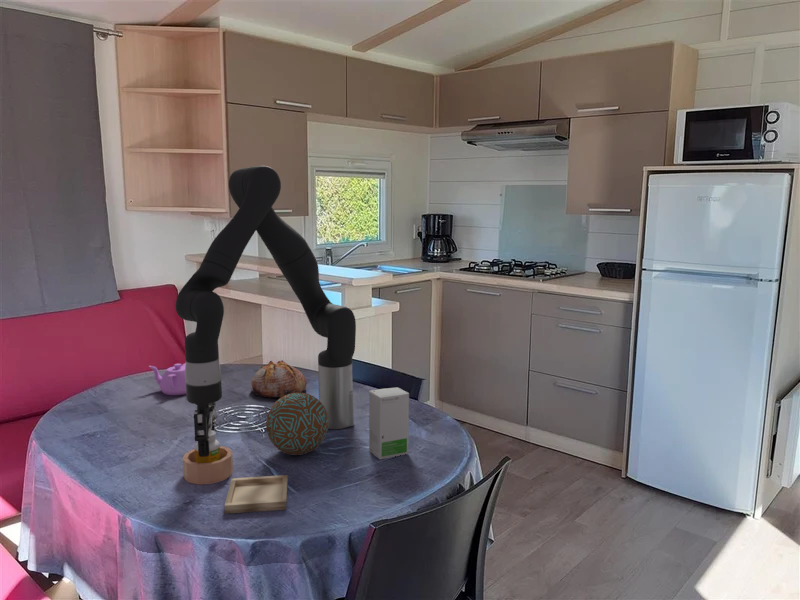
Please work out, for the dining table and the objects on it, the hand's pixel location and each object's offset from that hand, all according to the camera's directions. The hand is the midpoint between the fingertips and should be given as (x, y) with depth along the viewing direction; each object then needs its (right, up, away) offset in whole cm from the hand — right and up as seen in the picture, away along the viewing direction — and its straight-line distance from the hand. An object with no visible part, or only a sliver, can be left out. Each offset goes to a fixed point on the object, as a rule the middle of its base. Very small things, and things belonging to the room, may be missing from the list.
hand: (207, 448), depth 141 cm
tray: (+14, -8, -10) cm, 19 cm away
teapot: (-28, +4, +60) cm, 66 cm away
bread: (+5, +4, +60) cm, 60 cm away
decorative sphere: (+19, -4, +13) cm, 23 cm away
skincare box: (+41, -4, +13) cm, 43 cm away
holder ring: (0, -6, +1) cm, 6 cm away
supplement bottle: (0, -6, +1) cm, 6 cm away
